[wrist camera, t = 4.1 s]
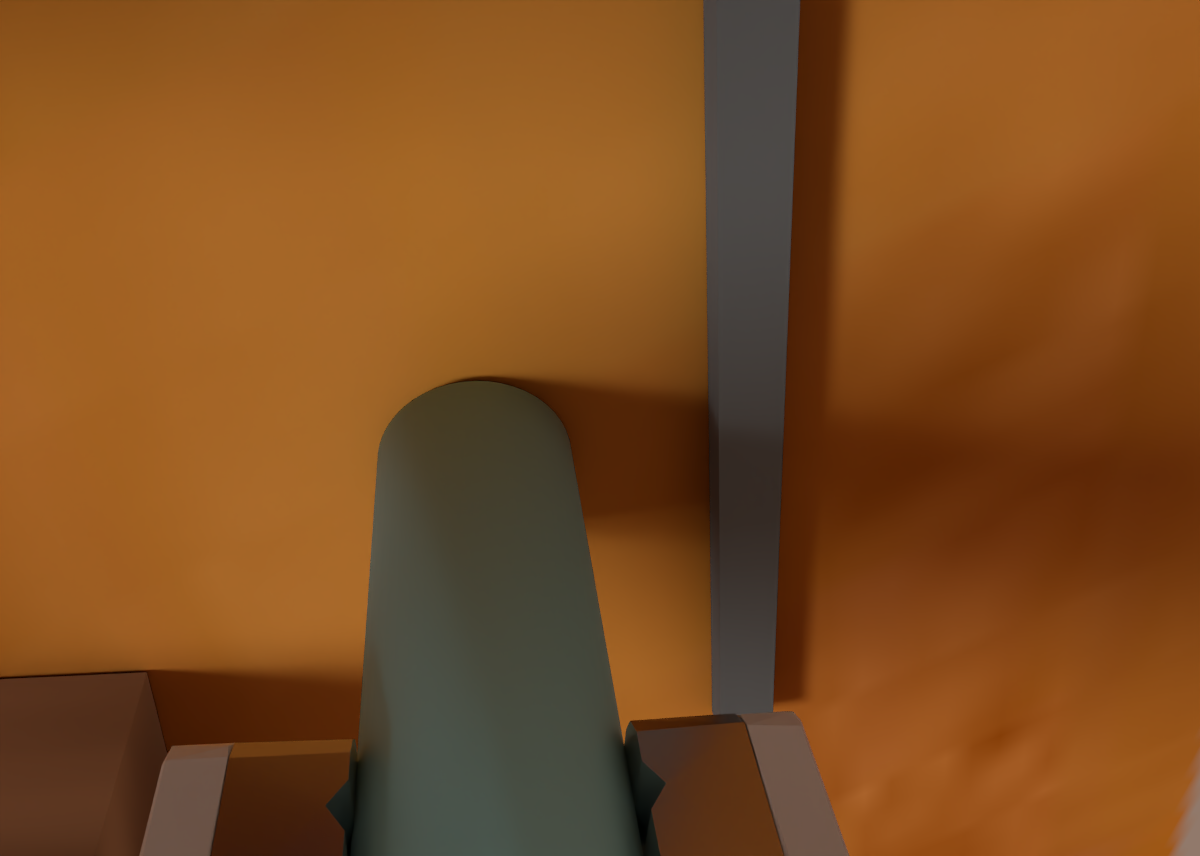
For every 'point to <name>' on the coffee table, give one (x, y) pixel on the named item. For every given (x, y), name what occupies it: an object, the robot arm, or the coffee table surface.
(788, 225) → the dark grey bar
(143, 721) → the block with square hole
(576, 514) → the teal capsule
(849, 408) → the coffee table surface
